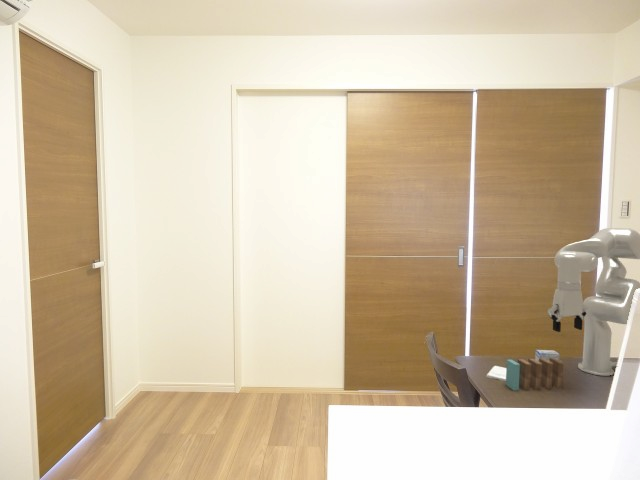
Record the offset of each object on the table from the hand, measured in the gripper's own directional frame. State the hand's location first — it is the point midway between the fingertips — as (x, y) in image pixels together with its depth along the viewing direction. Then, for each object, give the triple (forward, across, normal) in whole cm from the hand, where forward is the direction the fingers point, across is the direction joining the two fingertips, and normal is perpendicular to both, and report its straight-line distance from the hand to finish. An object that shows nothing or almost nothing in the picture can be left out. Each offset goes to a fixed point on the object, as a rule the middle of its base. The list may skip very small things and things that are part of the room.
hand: (567, 329), depth 156 cm
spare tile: (+21, +23, -1) cm, 31 cm away
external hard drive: (+22, +19, -13) cm, 32 cm away
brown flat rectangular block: (+21, +9, 0) cm, 23 cm away
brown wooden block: (+21, +14, 0) cm, 25 cm away
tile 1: (+22, +5, 0) cm, 22 cm away
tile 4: (+21, +18, -1) cm, 28 cm away
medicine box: (+22, -2, -12) cm, 25 cm away
